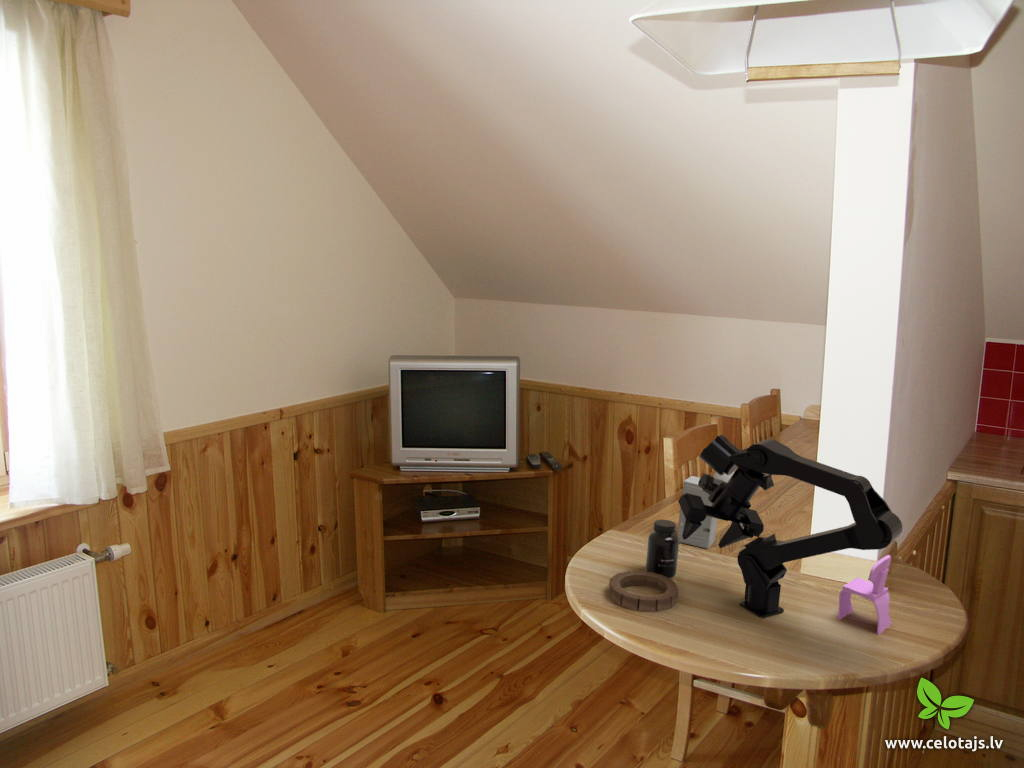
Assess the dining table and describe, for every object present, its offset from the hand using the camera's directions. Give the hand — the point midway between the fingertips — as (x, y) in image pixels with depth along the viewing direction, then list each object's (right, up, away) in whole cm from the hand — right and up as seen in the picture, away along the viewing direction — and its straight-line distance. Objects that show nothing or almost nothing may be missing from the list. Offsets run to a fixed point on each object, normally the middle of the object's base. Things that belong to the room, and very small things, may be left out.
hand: (701, 542), depth 177 cm
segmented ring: (-13, -11, -4) cm, 17 cm away
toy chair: (+30, -14, -12) cm, 35 cm away
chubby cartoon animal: (+22, +1, +62) cm, 66 cm away
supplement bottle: (-7, -9, +8) cm, 14 cm away
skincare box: (+5, -5, +27) cm, 28 cm away
